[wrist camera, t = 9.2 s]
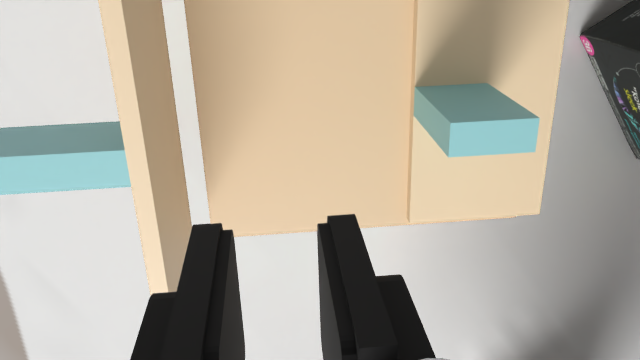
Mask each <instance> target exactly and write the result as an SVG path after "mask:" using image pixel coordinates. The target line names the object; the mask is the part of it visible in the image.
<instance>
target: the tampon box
mask: <svg viewBox="0 0 640 360" xmlns="http://www.w3.org/2000/svg"><path fill="white" fill-rule="evenodd" d="M580 39H581V41H582V43H583V45H584V47H585V49H586V51H587V53H588V56H589V58H590V60H591V62H592V65H593V67H594V69H595V71H596V73H597V75H598V78H599V80H600V83H601V85H602V87H603V89H604V91H605V93H606V96H607V98H608V100H609V102H610V105H611V107H612V109H613V111H614V113H615V115H616V118H617V120H618V122H619V124H620V126H621V128H622V130H623V133H624V135H625V137H626V139H627V141H628V143H629V145H630V147H631V149H632V151H633V153H634V155H635V156H636V158H638V159H640V0H634V1H632V2H630V3H629V4H627V5H626V6H624V7H623V8H621V9H620V10H618V11H616V12H615V13H613V14H612V15H610V16H609V17H607V18H606V19H604V20H602V21H601V22H599V23H598V24H596V25H595V26H593V27H592V28H590V29H588V30H587V31H585V32H584V33H582V34H581V35H580Z"/></svg>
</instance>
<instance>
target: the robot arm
mask: <svg viewBox="0 0 640 360" xmlns="http://www.w3.org/2000/svg"><path fill="white" fill-rule="evenodd" d="M317 236H318V265H319V293H320V322H321V342H322V352H323V359H324V360H448V359H443V358H436V357H435V355H434V352H433V350H432V347H431V345H430V342H429V340H428V337H427V335H426V333H425V330H424V328H423V325H422V323H421V320H420V318H419V315H418V313H417V310H416V308H415V306H414V303H413V301H412V298H411V296H410V293H409V291H408V288H407V286H406V283H405V281H404V279H403V277H402V276H401V275H387V276H375V273H374V270H373V267H372V264H371V261H370V258H369V255H368V252H367V249H366V246H365V243H364V240H363V237H362V234H361V231H360V227H359V224H358V221H357V218H356V216H355V214H346V215H332V216H327V223H318V224H317ZM130 360H245V342H244V331H243V321H242V312H241V302H240V292H239V282H238V272H237V263H236V253H235V243H234V234H233V230H232V229H231V230H223V227H222V223H214V224H199V225H193V226H192V230H191V234H190V238H189V242H188V246H187V250H186V254H185V259H184V263H183V267H182V271H181V275H180V279H179V283H178V287H177V292H164V293H153V294H152V295H151V297H150V299H149V302H148V305H147V308H146V311H145V314H144V318H143V321H142V324H141V327H140V330H139V334H138V337H137V340H136V343H135V346H134V350H133V353H132V356H131V359H130Z"/></svg>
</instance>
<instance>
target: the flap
mask: <svg viewBox="0 0 640 360" xmlns="http://www.w3.org/2000/svg"><path fill="white" fill-rule="evenodd" d="M98 2H99V8H100V13H101V19H102V25H103V30H104V36H105V41H106V47H107V53H108V58H109V64H110V70H111V75H112V81H113V87H114V92H115V98H116V104H117V109H118V115H119V120H120V122H101V123H83V124H64V125H45V126H27V127H8V128H1V129H0V195H5V194H21V193H37V192H54V191H70V190H86V189H102V188H119V187H131V188H132V194H133V199H134V205H135V211H136V216H137V222H138V228H139V233H140V239H141V244H142V250H143V256H144V261H145V267H146V273H147V278H148V284H149V290H150V295H152V294H153V293H164V292H177V287H178V283H179V279H180V275H181V271H182V267H183V263H184V259H185V254H186V250H187V246H188V242H189V238H190V234H191V230H192V224H191V217H190V209H189V202H188V195H187V187H186V180H185V172H184V165H183V157H182V150H181V143H180V135H179V128H178V120H177V113H176V105H175V98H174V91H173V83H172V76H171V68H170V61H169V54H168V46H167V39H166V31H165V24H164V16H163V9H162V2H161V0H98Z"/></svg>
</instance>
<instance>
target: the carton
mask: <svg viewBox="0 0 640 360" xmlns="http://www.w3.org/2000/svg"><path fill="white" fill-rule="evenodd" d="M569 1H570V0H184V4H185V13H186V21H187V29H188V38H189V46H190V55H191V63H192V71H193V80H194V88H195V96H196V105H197V113H198V122H199V130H200V138H201V147H202V155H203V163H204V172H205V180H206V188H207V197H208V205H209V214H210V222H211V224H214V223H222V227H223V230H231V229H232V230H233V234H234V237H240V236H255V235H269V234H283V233H298V232H312V231H317V224H318V223H327V216H332V215H346V214H355V216H356V218H357V221H358V224H359V227H360V228H369V227H384V226H398V225H412V224H427V223H441V222H455V221H470V220H484V219H498V218H512V217H516V216H521V215H536V214H540V208H541V200H542V193H543V186H544V179H545V172H546V165H547V158H548V151H549V143H550V136H551V129H552V122H553V115H554V108H555V101H556V94H557V87H558V79H559V72H560V65H561V58H562V51H563V44H564V37H565V30H566V23H567V15H568V8H569Z"/></svg>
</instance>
